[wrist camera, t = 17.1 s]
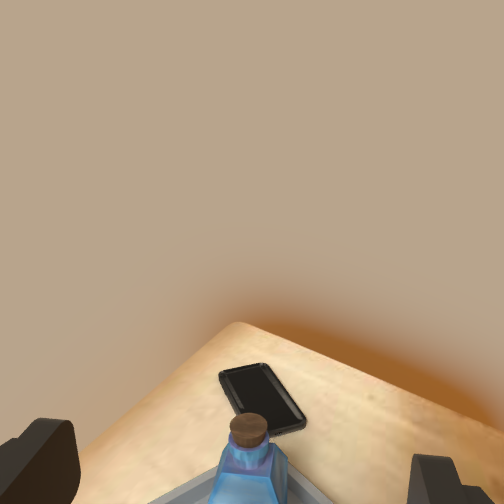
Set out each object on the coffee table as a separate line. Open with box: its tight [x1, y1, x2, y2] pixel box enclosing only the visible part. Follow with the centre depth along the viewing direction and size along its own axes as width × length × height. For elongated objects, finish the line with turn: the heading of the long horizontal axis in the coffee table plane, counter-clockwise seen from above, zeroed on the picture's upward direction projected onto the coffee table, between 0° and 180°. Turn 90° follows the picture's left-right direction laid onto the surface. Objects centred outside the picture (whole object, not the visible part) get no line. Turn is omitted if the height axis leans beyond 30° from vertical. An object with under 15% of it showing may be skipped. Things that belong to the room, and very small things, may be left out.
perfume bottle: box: [207, 413, 288, 504], centre depth 39 cm, size 6×6×12 cm
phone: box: [218, 363, 306, 438], centre depth 61 cm, size 8×1×15 cm
